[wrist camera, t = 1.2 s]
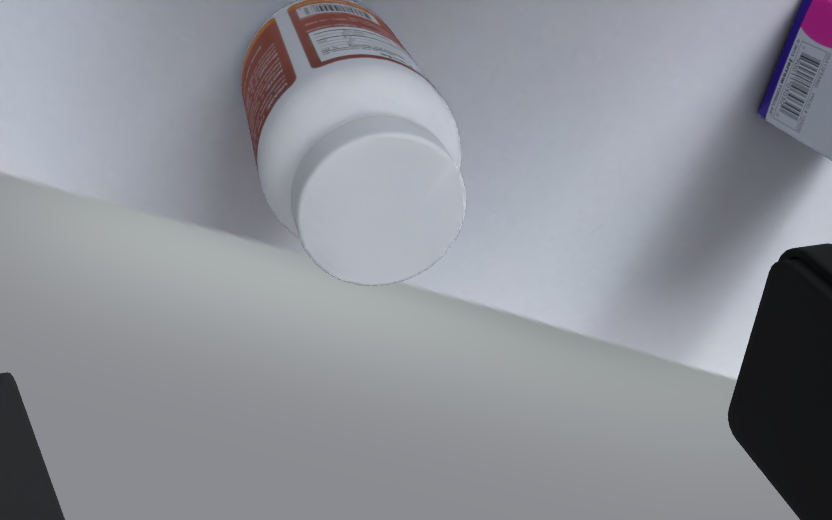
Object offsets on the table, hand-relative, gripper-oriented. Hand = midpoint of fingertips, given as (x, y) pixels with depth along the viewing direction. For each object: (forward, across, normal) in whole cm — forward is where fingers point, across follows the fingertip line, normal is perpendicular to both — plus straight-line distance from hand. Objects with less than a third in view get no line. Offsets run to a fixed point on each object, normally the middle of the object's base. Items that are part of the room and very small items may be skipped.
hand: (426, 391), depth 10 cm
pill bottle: (+22, -2, +4) cm, 23 cm away
